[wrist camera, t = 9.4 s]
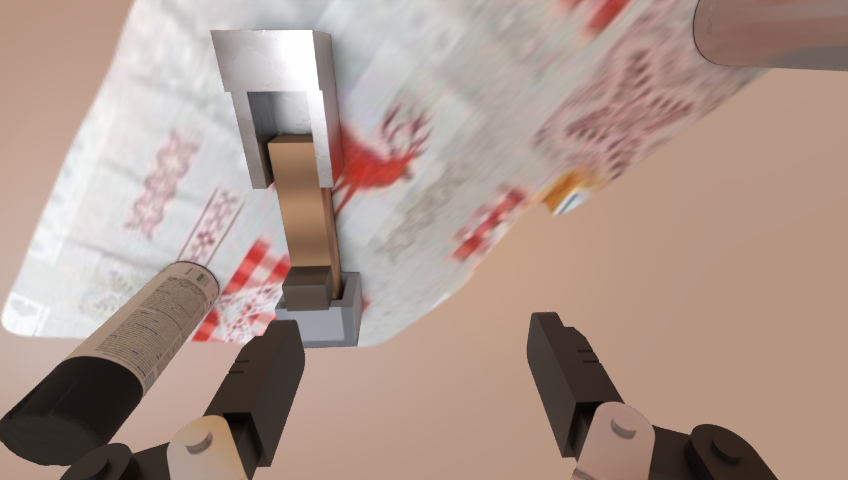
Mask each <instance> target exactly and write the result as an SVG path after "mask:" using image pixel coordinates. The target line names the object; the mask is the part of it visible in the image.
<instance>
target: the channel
mask: <svg viewBox="0 0 848 480" xmlns="http://www.w3.org/2000/svg"><path fill="white" fill-rule="evenodd" d="M210 31H211V35H212V39H213V44H214V48H215V52H216V56H217V61H218V65H219V69H220V73H221V78H222V82H223V86H224V90H225V92H231V95H232V99H233V104H234V108H235V113H236V117H237V121H238V126H239V130H240V134H241V139H242V143H243V148H244V152H245V156H246V161H247V165H248V169H249V174H250V178H251V182H252V187H253V189H267V188H268V187H269V186H270V185H271V184H272V183H273V182H274V181H275V179H274V174H273V169H272V164H271V159H270V154H269V149H268V144H267V143H269V142H270V141H271V140H273V139H274V138H276V137H277V136H279V135H280V134H313V141H314V149H315V156H316V163H317V170H318V177H319V184H320V188H322V187H334V186H335V184H336V182H337V180H338V178H339V176H340V174H341V172H342V170H343V168H344V160H343V150H342V141H341V131H340V122H339V112H338V102H337V93H336V83H335V74H334V64H333V55H332V45H331V36H330V34H326V33H322V32H317V31H313V30H210Z"/></svg>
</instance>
